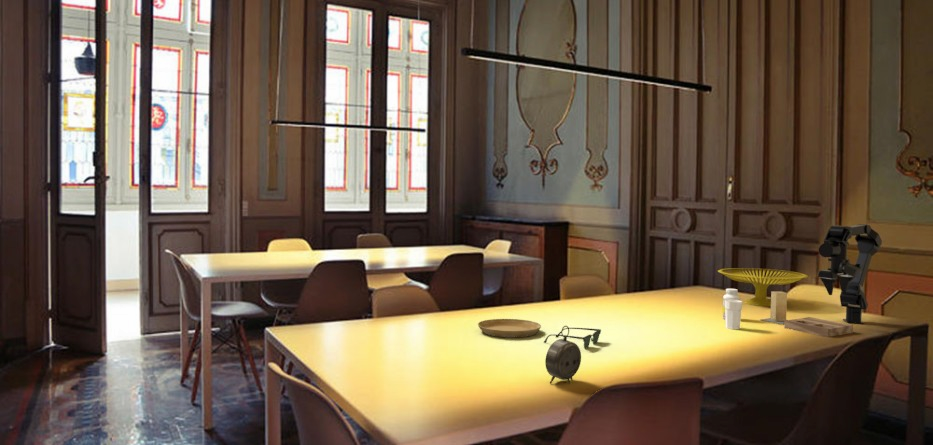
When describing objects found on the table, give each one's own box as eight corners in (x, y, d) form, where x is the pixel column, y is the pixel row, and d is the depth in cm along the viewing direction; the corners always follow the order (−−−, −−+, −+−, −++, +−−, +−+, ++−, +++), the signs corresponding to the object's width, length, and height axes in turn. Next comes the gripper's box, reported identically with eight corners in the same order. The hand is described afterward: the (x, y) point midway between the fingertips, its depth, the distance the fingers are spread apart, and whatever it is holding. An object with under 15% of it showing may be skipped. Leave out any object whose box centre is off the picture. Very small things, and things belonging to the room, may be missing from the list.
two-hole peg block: (809, 324, 277) (809, 317, 277) (852, 332, 261) (853, 325, 261) (784, 328, 268) (784, 320, 268) (827, 336, 253) (828, 329, 253)
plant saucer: (506, 323, 272) (507, 315, 272) (553, 333, 255) (554, 324, 255) (464, 332, 256) (464, 323, 255) (511, 343, 238) (512, 333, 238)
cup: (741, 327, 269) (742, 300, 268) (741, 330, 263) (742, 302, 262) (724, 325, 272) (725, 299, 271) (723, 328, 266) (724, 301, 265)
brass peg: (780, 319, 284) (781, 291, 283) (786, 321, 280) (787, 293, 279) (770, 319, 284) (771, 291, 283) (775, 321, 280) (776, 293, 279)
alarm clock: (570, 376, 196) (571, 321, 195) (584, 381, 191) (585, 325, 191) (543, 383, 189) (544, 326, 188) (557, 388, 185) (558, 329, 184)
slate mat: (775, 318, 289) (775, 317, 289) (796, 322, 280) (796, 321, 280) (760, 320, 284) (760, 319, 284) (781, 324, 275) (781, 323, 275)
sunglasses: (558, 336, 250) (558, 323, 250) (602, 342, 241) (602, 328, 241) (539, 345, 236) (539, 331, 236) (585, 351, 227) (585, 337, 227)
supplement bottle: (738, 318, 288) (739, 288, 287) (739, 321, 282) (740, 290, 281) (722, 317, 290) (723, 287, 290) (722, 319, 284) (723, 289, 283)
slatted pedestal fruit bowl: (726, 308, 310) (727, 276, 310) (709, 295, 350) (710, 266, 349) (819, 312, 304) (820, 279, 303) (791, 298, 343) (792, 269, 343)
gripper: (844, 259, 261) (843, 298, 262) (871, 257, 271) (870, 295, 271) (817, 256, 271) (816, 294, 272) (844, 254, 280) (843, 291, 281)
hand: (837, 294), depth 274 cm, fingers open, 9 cm apart
